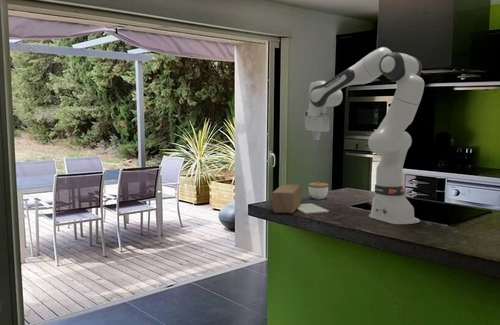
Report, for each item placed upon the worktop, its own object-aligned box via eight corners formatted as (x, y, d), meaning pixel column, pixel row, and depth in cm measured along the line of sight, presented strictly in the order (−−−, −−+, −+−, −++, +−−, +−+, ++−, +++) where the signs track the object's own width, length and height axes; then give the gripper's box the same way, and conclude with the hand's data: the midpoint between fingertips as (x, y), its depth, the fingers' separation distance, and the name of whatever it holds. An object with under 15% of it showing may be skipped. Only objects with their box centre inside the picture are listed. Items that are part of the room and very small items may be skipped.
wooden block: (282, 203, 230) (272, 213, 211) (281, 184, 229) (271, 192, 210) (301, 203, 227) (293, 213, 208) (300, 184, 226) (292, 192, 207)
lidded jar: (332, 198, 247) (332, 181, 246) (319, 201, 240) (320, 183, 239) (316, 195, 255) (317, 179, 254) (304, 198, 248) (304, 181, 246)
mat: (328, 211, 214) (328, 210, 213) (305, 213, 210) (305, 212, 210) (311, 204, 230) (311, 203, 230) (289, 206, 227) (289, 204, 227)
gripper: (333, 113, 224) (332, 141, 226) (313, 112, 243) (313, 138, 245) (321, 113, 222) (321, 141, 224) (302, 112, 241) (302, 139, 243)
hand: (316, 140), depth 234 cm, fingers closed
